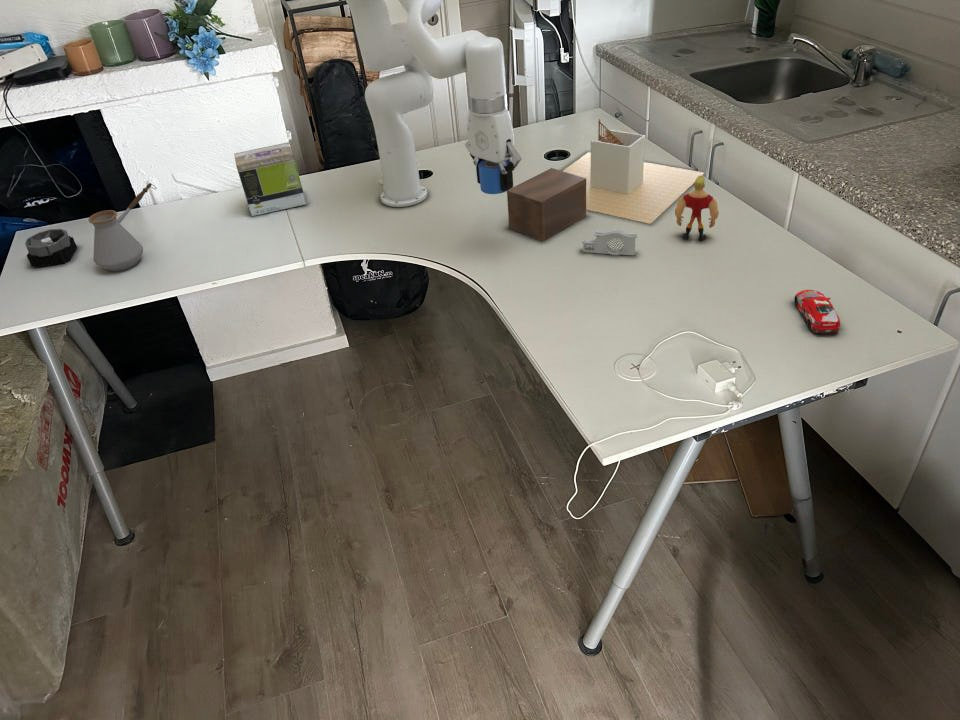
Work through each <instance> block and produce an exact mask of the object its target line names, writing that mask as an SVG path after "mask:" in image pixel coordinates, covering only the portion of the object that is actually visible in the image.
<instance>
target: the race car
mask: <svg viewBox="0 0 960 720" xmlns="http://www.w3.org/2000/svg"><path fill="white" fill-rule="evenodd" d="M830 300H831V297H826V296H825V295H824V293H822V292H821V291H818V290H815V289H803V290H801V291H798V292H797V293H796V294H795V295H794V301H793V302H794V305H795V307H797V309H798V311H799V313H800V314H801V316H802V318H803V320H804V321H805V323H806V324H807V328H808V329H809V330H811V331H812V332H814V333H817V334H836V333H838V332H840V328H841V319H840V316H839V315H838V313H837V311H836V310H835V308H834V306H833V304H832V303H831V301H830Z"/></svg>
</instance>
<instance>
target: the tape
mask: <svg viewBox="0 0 960 720" xmlns="http://www.w3.org/2000/svg"><path fill="white" fill-rule="evenodd" d="M504 163H505V166H507V165H508V164H507V162H506V161H504ZM478 166H479V177H480V184H479V185H480V186H479V187H480V191H481V193H483V194H486V195H499V194H504V193H507V191H508V190H507V191H505V192H503V191H502V190H501V181H500V174H501V173H502V171H501V168H500V166H499V163H494V162H491V161H487V160H483V161H481V162H480V163H479V165H478Z"/></svg>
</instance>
